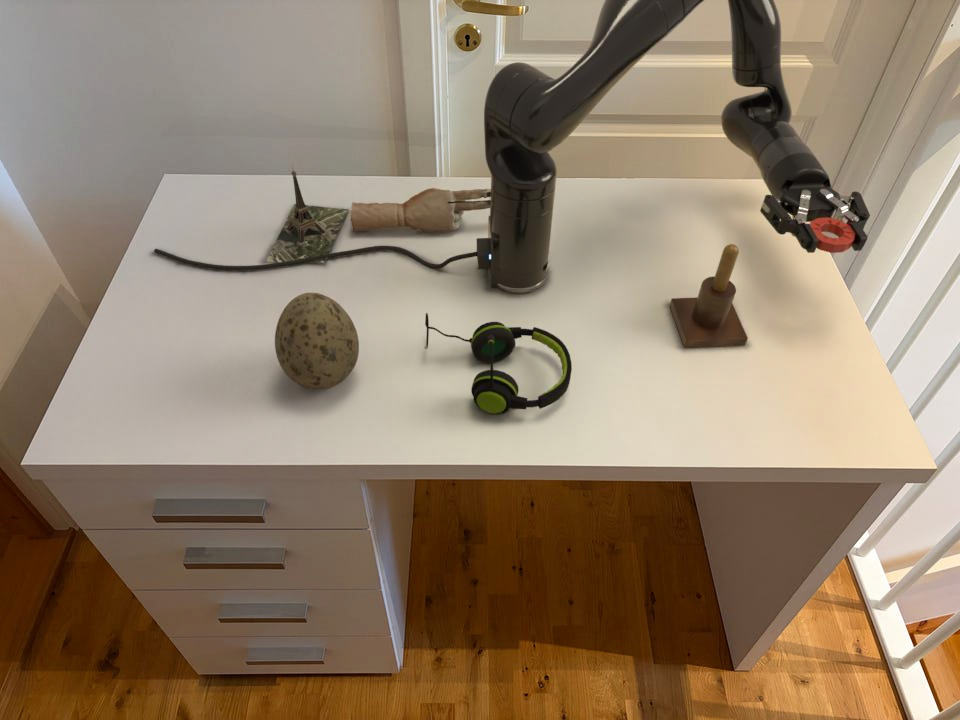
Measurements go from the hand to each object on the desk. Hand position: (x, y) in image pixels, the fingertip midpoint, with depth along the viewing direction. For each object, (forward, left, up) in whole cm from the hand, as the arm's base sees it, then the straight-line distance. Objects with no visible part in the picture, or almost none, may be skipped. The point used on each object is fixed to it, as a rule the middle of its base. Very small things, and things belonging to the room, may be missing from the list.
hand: (837, 246), depth 96 cm
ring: (0, +2, 0) cm, 2 cm away
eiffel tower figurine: (-74, +27, -16) cm, 81 cm away
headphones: (-45, -6, -16) cm, 48 cm away
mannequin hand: (-54, +28, -16) cm, 63 cm away
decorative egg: (-69, -5, -16) cm, 71 cm away
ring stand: (-13, +2, -16) cm, 21 cm away
